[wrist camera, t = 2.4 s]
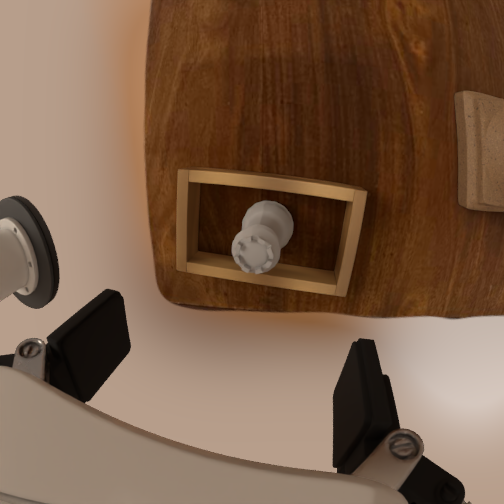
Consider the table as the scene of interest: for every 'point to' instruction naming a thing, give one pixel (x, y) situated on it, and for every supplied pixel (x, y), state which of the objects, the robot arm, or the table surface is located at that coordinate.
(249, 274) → the rectangular wooden frame
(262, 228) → the rook chess piece
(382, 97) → the table surface
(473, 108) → the candle holder
